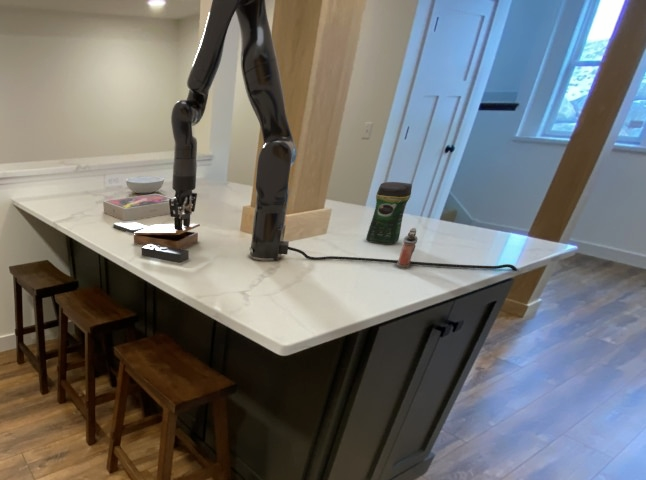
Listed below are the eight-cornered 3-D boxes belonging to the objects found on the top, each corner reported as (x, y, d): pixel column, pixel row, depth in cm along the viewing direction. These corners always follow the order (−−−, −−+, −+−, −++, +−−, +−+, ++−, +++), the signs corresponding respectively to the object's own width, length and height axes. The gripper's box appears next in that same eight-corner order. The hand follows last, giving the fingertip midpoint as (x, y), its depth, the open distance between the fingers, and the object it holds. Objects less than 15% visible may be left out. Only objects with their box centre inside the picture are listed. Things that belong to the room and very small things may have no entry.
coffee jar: (400, 241, 150) (417, 181, 140) (391, 246, 146) (408, 185, 136) (371, 236, 156) (385, 179, 146) (361, 241, 152) (376, 182, 142)
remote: (188, 260, 142) (188, 249, 140) (179, 264, 139) (180, 253, 137) (150, 253, 150) (150, 242, 148) (141, 257, 147) (141, 246, 145)
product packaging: (180, 212, 201) (180, 200, 198) (125, 221, 191) (124, 208, 188) (155, 204, 217) (155, 193, 215) (103, 212, 207) (103, 201, 204)
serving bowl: (123, 196, 239) (122, 182, 235) (129, 189, 256) (129, 176, 253) (161, 195, 236) (161, 181, 232) (165, 188, 253) (165, 175, 249)
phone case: (112, 227, 183) (131, 234, 171) (112, 223, 182) (131, 230, 170) (130, 224, 187) (151, 231, 175) (130, 220, 186) (150, 226, 174)
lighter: (408, 269, 127) (419, 233, 122) (395, 267, 129) (405, 232, 123) (410, 261, 133) (421, 227, 127) (398, 260, 134) (408, 225, 129)
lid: (200, 225, 155) (199, 209, 152) (178, 234, 146) (177, 217, 143) (156, 226, 166) (154, 211, 163) (133, 234, 157) (131, 219, 155)
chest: (197, 242, 158) (198, 232, 156) (176, 252, 149) (176, 241, 147) (156, 236, 168) (155, 226, 166) (134, 245, 159) (133, 234, 157)
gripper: (182, 177, 136) (180, 234, 145) (205, 171, 145) (202, 224, 154) (162, 175, 139) (161, 230, 149) (186, 169, 149) (183, 221, 158)
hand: (182, 227), depth 152 cm, fingers closed on lid, 5 cm apart
